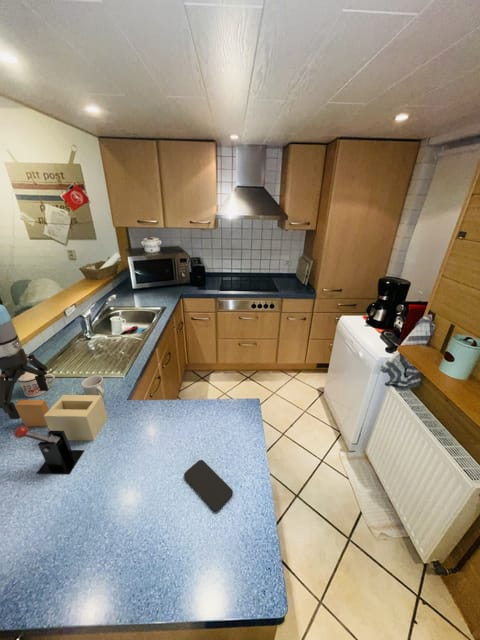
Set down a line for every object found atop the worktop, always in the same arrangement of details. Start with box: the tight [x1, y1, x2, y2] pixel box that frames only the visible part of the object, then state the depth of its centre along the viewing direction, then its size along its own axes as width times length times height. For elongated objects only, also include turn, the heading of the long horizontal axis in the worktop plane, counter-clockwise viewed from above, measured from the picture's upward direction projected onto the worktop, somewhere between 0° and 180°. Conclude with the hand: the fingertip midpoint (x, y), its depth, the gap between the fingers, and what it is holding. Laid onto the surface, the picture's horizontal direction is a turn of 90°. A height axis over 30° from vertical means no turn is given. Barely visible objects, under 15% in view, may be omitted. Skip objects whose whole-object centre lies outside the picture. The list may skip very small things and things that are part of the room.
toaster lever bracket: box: [35, 430, 85, 475], centre depth 77 cm, size 10×8×12 cm
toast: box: [14, 399, 50, 427], centre depth 91 cm, size 9×2×11 cm, turn 90°
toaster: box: [44, 394, 109, 441], centre depth 89 cm, size 14×10×12 cm
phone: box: [183, 459, 234, 513], centre depth 74 cm, size 7×1×15 cm
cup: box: [81, 374, 106, 398], centre depth 105 cm, size 11×8×8 cm
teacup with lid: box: [17, 367, 56, 398], centre depth 108 cm, size 12×9×12 cm
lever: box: [13, 425, 61, 445], centre depth 74 cm, size 12×3×3 cm, turn 91°
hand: (31, 403), depth 89 cm, fingers open, 13 cm apart
